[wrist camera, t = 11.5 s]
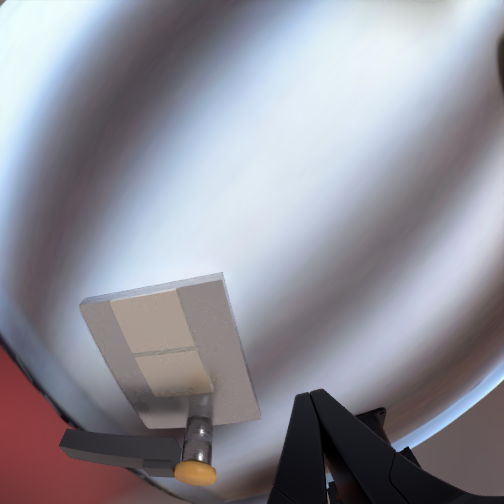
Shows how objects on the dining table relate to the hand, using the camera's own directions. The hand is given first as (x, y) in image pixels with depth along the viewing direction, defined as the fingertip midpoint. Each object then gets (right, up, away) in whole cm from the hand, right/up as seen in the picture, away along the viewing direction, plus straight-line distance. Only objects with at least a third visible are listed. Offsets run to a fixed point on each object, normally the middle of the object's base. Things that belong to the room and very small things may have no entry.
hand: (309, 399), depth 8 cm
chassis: (-8, -5, +13) cm, 16 cm away
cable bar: (-12, -13, +12) cm, 21 cm away
